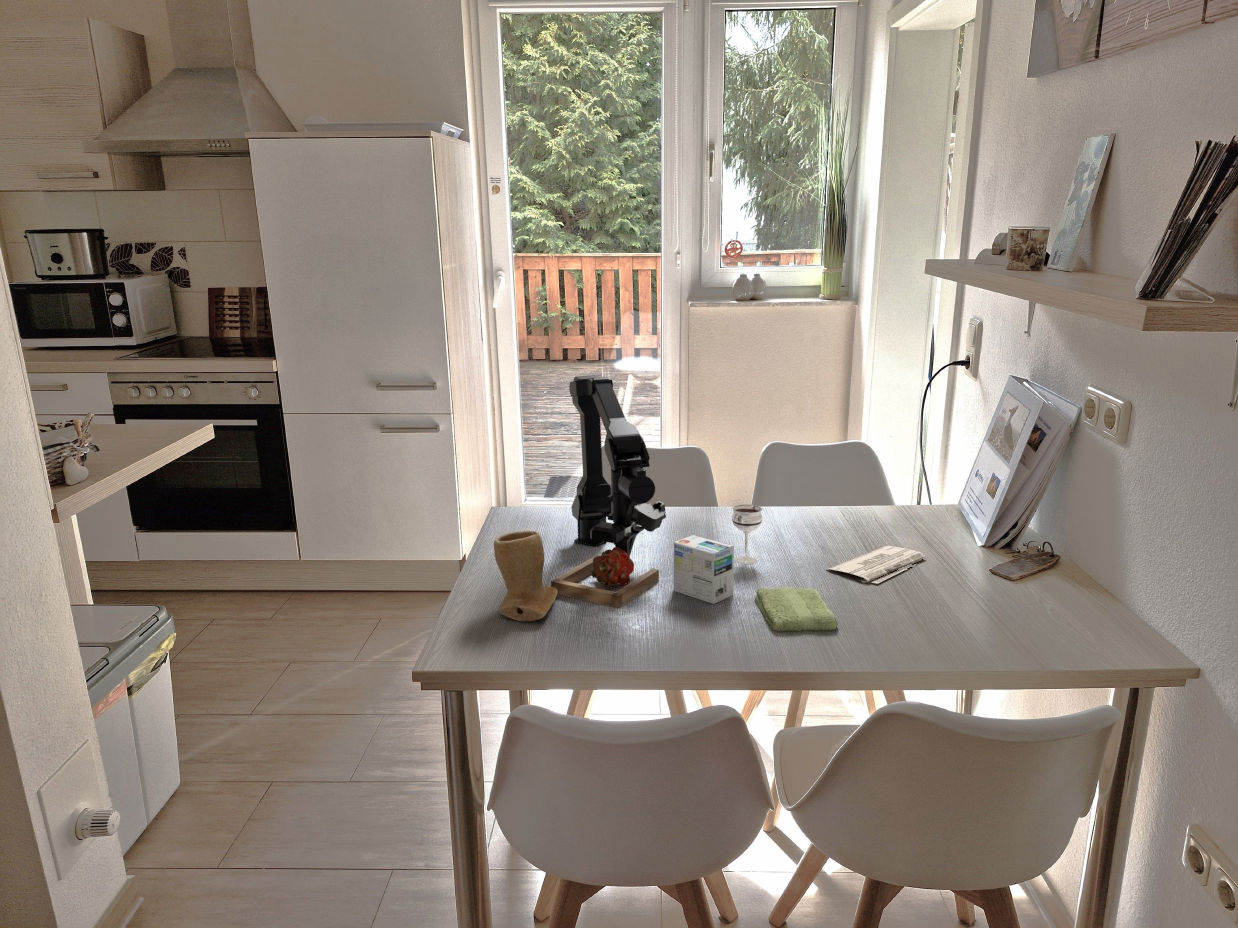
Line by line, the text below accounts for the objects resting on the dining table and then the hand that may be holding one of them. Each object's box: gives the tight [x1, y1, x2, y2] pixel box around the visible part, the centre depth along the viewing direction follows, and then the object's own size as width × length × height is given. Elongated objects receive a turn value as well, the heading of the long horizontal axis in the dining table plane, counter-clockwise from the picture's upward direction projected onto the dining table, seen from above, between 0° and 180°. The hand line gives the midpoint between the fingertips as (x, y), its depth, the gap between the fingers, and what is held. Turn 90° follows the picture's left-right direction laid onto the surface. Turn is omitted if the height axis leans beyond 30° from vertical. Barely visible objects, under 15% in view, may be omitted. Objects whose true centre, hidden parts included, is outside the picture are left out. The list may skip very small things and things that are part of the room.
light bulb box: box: [673, 534, 735, 605], centre depth 177 cm, size 11×7×11 cm, turn 47°
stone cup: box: [493, 530, 558, 622], centre depth 170 cm, size 15×12×15 cm
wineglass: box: [731, 503, 764, 565], centre depth 195 cm, size 7×7×12 cm
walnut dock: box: [550, 556, 660, 609], centre depth 182 cm, size 16×16×2 cm
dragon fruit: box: [590, 546, 635, 589], centre depth 183 cm, size 8×8×12 cm
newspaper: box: [825, 545, 926, 585], centre depth 192 cm, size 23×12×2 cm, turn 130°
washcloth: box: [754, 586, 839, 632], centre depth 168 cm, size 13×18×3 cm
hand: (625, 560), depth 188 cm, fingers closed
